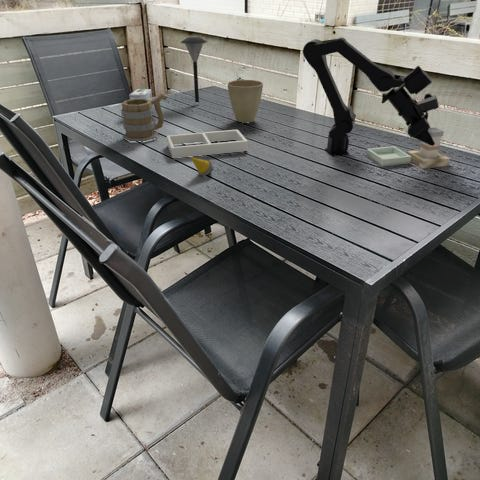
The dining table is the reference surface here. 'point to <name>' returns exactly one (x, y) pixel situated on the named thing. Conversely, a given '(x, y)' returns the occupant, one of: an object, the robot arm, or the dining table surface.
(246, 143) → the parts bin
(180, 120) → the dining table surface
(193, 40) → the solar garden light
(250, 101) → the plant pot
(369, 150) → the tray
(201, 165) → the yellow tapered piece
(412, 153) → the collar block
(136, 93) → the light bulb box
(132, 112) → the tankard
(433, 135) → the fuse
